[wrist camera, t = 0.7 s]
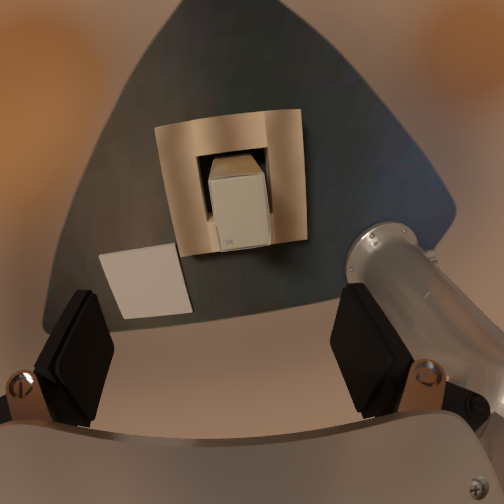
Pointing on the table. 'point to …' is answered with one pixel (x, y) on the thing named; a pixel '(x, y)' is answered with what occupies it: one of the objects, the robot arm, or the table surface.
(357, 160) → the table surface
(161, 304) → the mat
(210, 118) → the holder
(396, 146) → the table surface
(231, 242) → the skincare box
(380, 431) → the robot arm
